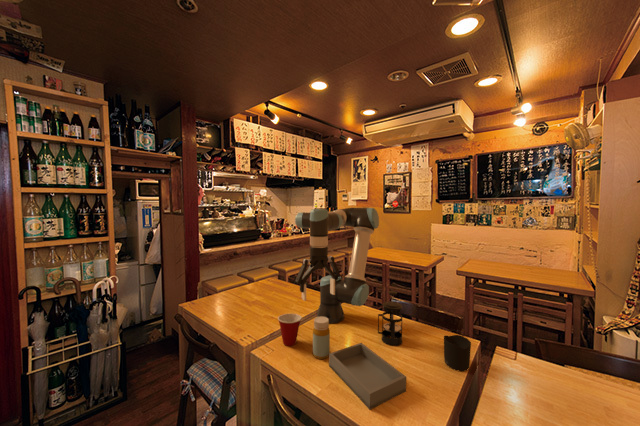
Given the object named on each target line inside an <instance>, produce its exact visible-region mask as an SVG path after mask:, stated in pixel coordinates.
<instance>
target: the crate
mask: <svg viewBox="0 0 640 426" xmlns="http://www.w3.org/2000/svg"><path fill="white" fill-rule="evenodd" d="M328 366H329V368H330V369H331V370H332V372H334V373H335V374H336V375H337V376H338V377H339V379H340V380H342V382H343V383H344V384H345V385H346V386H347V387H348V388H349V390H351V392H353V393H354V395H356V397H357V398H358V399H359V400H360V401H361V402H362V403H363V405H364V406H365V407H366V408H367V409H369V410H372V409H375V408H376V407H378V406H380V405H382V404H384V403H386V402H388V401H390V400H392V399H393V398H396V397H397V396H399V395H401V394H403V393H405V392H407V376H406V375H405V374H403V372H401V371H399V370H398V369H397V368H396V367H394V366H393V365H391V364H390V363H389V362H387V361H386V360H385V359H384V358H382V357H381V356H380V355H378V354H377V353H375V352H374V351H373V350H371V348H369V347H368V346H367V345H366V344H364V343H363V342H360V343H357V344H356V343H355V344H354V345H351V346H348V347H345V348H341V349H338V350H336V351H332V352H329V356H328Z"/></svg>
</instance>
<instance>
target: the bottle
mask: <svg viewBox="0 0 640 426" xmlns="http://www.w3.org/2000/svg"><path fill="white" fill-rule="evenodd" d="M329 325H330V323H329V319H328V318H327V317H323V316H320V317H317V316H315V318H314V319H313V330H312V354H313V356H314V357H315V358H316V359H317V360H325V359H326V358H329V353H330V346H331V345H330V340H331V339H330V338H331V337H330V331H331V330H330V326H329Z"/></svg>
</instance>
